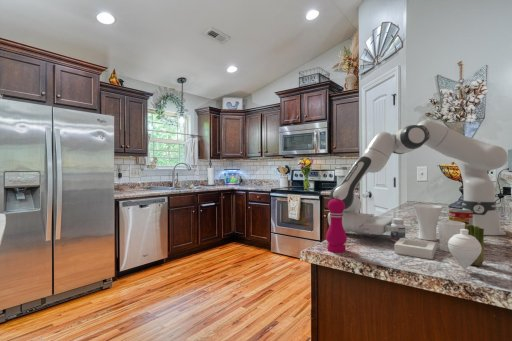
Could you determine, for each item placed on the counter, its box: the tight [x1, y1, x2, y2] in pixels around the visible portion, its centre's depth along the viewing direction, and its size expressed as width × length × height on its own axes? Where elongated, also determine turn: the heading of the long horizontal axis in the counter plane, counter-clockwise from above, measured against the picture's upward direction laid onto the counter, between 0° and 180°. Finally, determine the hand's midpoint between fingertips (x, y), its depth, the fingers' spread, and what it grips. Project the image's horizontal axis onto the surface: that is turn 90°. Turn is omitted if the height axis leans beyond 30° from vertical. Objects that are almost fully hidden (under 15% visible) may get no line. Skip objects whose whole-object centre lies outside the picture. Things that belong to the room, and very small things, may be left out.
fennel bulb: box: [466, 225, 485, 267], centre depth 86 cm, size 6×5×12 cm
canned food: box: [448, 208, 473, 229], centre depth 115 cm, size 8×8×12 cm
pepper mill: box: [325, 194, 348, 254], centre depth 102 cm, size 7×7×20 cm
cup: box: [412, 203, 443, 241], centre depth 118 cm, size 10×10×14 cm
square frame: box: [393, 237, 437, 260], centre depth 99 cm, size 11×11×3 cm
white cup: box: [437, 219, 465, 253], centre depth 101 cm, size 8×8×10 cm
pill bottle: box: [390, 217, 406, 243], centre depth 114 cm, size 5×5×9 cm
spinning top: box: [448, 229, 482, 273], centre depth 80 cm, size 8×8×12 cm
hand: (400, 227), depth 114 cm, fingers closed on pill bottle, 5 cm apart
